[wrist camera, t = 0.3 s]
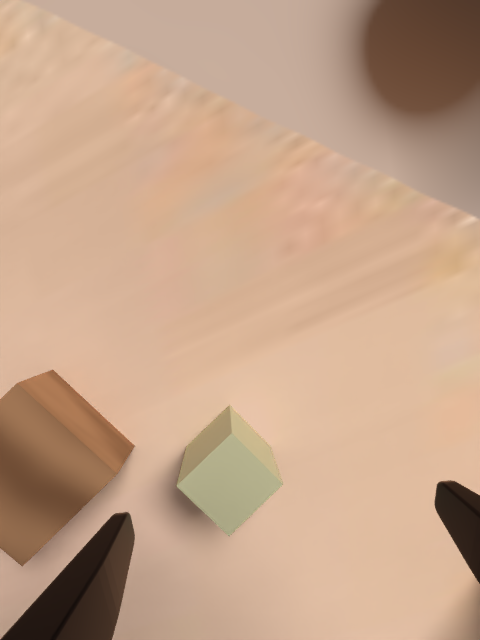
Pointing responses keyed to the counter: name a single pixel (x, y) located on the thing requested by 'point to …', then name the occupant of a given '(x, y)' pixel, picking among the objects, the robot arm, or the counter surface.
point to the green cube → (229, 471)
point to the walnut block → (50, 460)
